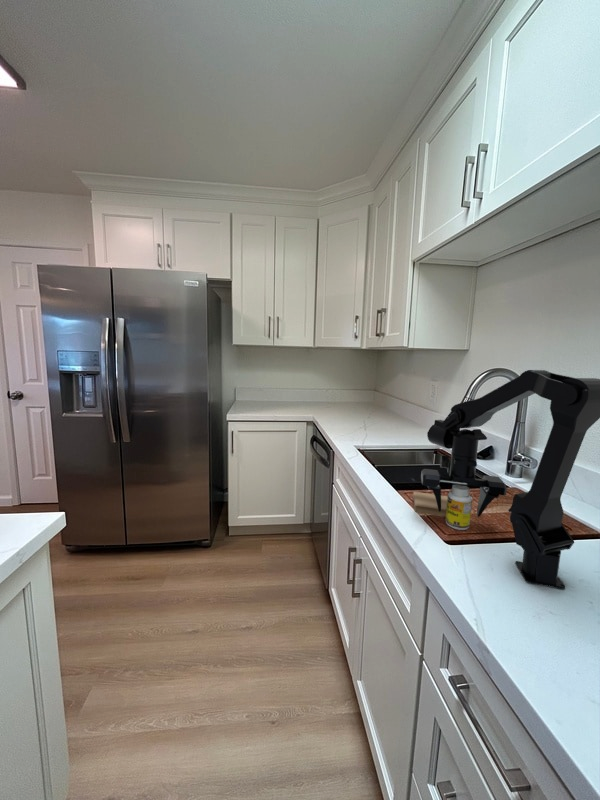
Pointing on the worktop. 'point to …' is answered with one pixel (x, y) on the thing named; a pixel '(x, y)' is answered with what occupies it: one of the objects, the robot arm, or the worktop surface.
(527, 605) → the worktop surface
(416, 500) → the beige square slab
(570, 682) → the worktop surface
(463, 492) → the supplement bottle
